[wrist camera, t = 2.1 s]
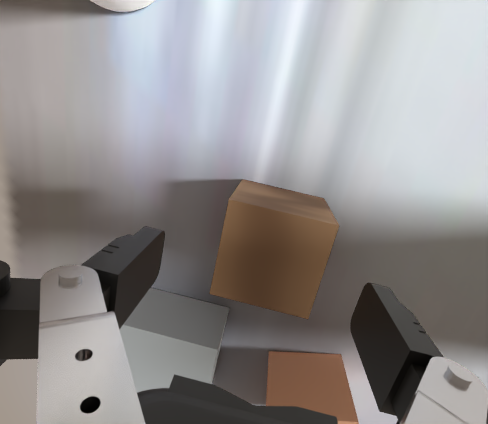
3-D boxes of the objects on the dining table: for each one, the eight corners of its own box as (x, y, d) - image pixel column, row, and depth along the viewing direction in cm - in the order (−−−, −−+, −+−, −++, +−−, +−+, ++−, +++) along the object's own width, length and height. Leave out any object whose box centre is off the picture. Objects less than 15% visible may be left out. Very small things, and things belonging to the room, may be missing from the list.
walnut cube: (323, 198, 18) (339, 225, 13) (301, 270, 19) (308, 319, 15) (242, 178, 18) (228, 199, 13) (226, 252, 20) (209, 293, 15)
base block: (229, 307, 21) (217, 349, 17) (211, 384, 23) (197, 436, 19) (133, 283, 21) (100, 318, 17) (124, 360, 23) (93, 407, 19)
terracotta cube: (340, 353, 21) (358, 422, 16) (338, 408, 22) (353, 487, 17) (268, 350, 21) (265, 415, 17) (270, 404, 23) (267, 478, 18)
